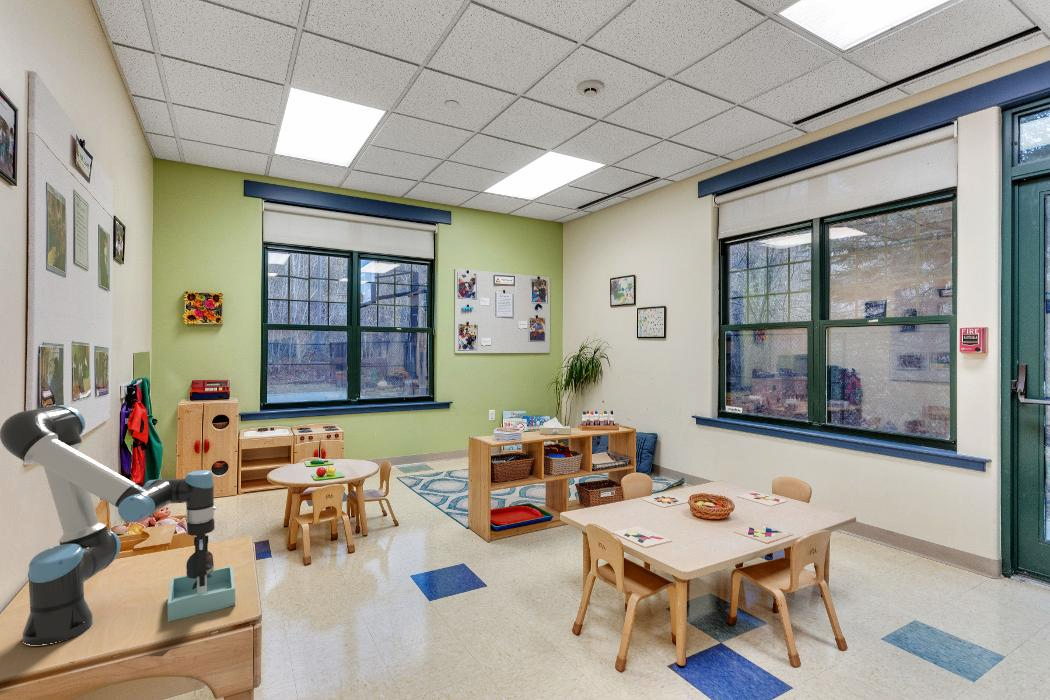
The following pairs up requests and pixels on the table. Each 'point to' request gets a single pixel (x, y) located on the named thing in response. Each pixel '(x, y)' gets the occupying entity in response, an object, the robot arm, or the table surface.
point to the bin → (189, 604)
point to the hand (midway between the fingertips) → (202, 588)
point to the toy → (192, 567)
